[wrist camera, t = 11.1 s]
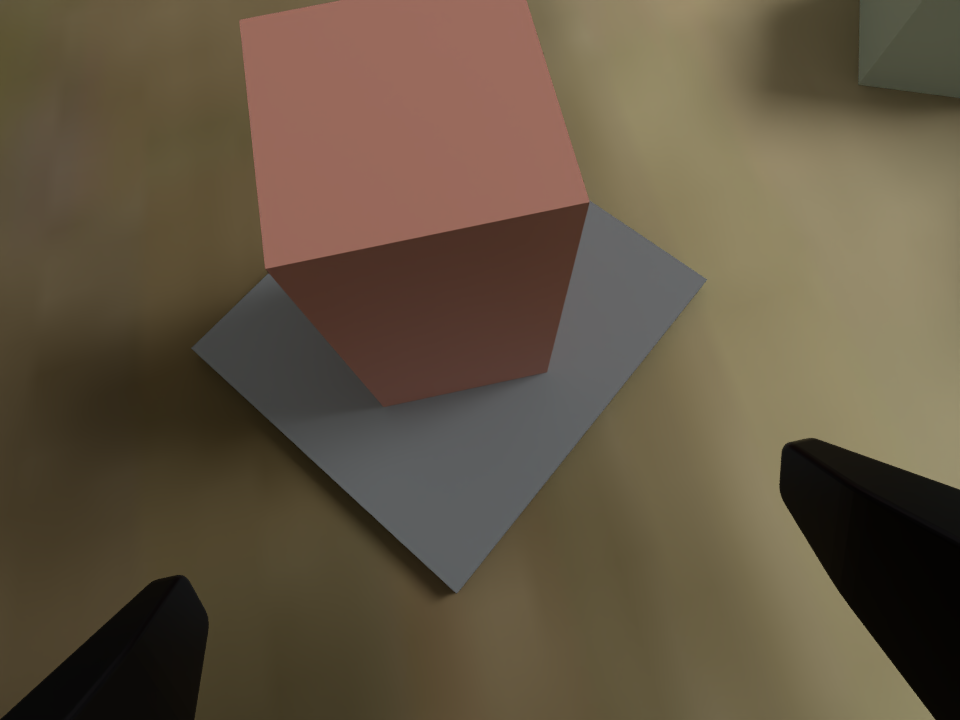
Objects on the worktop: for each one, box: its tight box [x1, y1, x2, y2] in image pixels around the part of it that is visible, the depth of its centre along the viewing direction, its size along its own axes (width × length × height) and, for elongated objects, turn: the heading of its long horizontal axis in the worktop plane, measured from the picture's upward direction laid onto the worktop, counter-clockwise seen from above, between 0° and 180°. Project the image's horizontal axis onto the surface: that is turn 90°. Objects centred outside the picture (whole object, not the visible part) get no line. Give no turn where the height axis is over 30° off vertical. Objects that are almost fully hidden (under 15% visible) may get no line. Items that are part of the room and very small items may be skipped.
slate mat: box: [191, 200, 707, 594], centre depth 18 cm, size 12×11×1 cm
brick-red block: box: [240, 0, 590, 407], centre depth 14 cm, size 5×5×9 cm
